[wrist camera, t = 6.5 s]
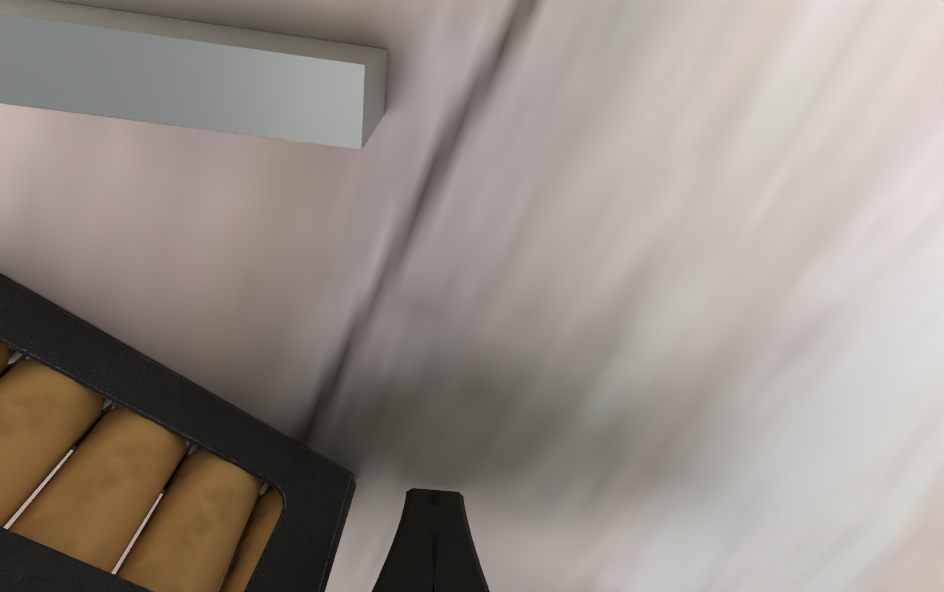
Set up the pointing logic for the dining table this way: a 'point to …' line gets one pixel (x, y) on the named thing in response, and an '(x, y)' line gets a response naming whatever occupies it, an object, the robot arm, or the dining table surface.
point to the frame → (189, 73)
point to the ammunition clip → (146, 473)
